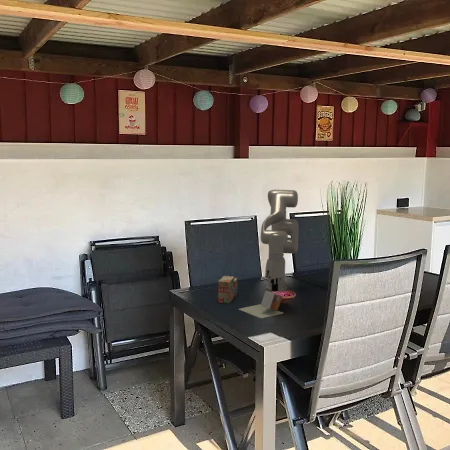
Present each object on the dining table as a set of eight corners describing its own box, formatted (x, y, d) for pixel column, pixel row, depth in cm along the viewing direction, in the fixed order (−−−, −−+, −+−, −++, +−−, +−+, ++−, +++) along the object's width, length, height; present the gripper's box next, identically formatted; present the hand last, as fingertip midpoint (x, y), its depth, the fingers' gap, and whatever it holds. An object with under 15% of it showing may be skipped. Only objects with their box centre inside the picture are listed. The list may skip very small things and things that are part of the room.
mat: (260, 304, 270) (260, 304, 270) (283, 313, 256) (283, 312, 256) (238, 309, 261) (238, 308, 261) (261, 318, 247) (261, 318, 247)
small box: (277, 310, 261) (269, 309, 252) (268, 307, 263) (260, 305, 254) (282, 296, 261) (274, 294, 252) (273, 292, 264) (265, 290, 255)
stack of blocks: (227, 292, 294) (227, 272, 292) (237, 293, 292) (237, 272, 291) (217, 302, 273) (218, 280, 271) (229, 303, 272) (229, 281, 270)
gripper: (281, 254, 268) (280, 287, 270) (260, 256, 259) (259, 291, 261) (291, 256, 262) (290, 290, 264) (270, 259, 253) (269, 294, 255)
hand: (274, 291), depth 263 cm, fingers closed
